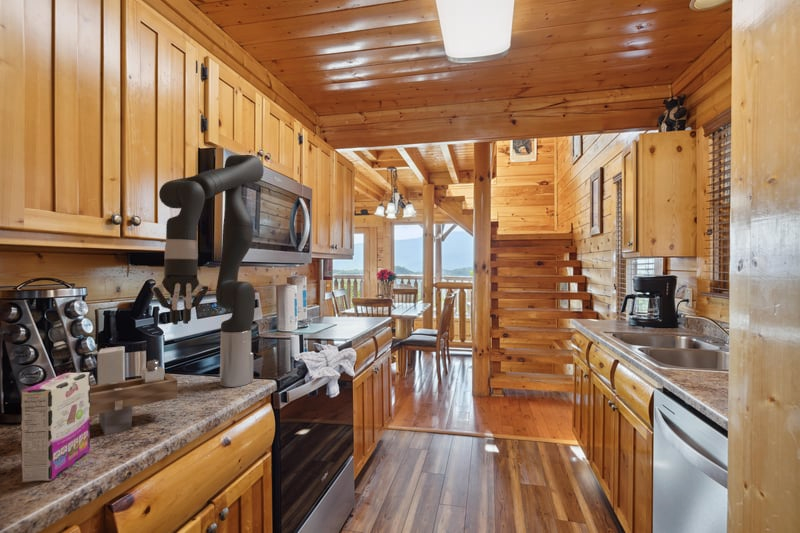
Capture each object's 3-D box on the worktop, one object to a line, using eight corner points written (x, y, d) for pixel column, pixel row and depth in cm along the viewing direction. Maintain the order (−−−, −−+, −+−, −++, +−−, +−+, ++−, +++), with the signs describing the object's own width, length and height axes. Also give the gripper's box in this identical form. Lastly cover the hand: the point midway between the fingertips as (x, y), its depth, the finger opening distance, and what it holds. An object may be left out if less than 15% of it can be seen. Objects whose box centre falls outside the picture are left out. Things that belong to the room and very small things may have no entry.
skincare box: (124, 404, 105) (125, 350, 105) (95, 409, 101) (96, 352, 101) (125, 396, 112) (126, 344, 112) (99, 399, 108) (100, 347, 108)
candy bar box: (62, 453, 78) (64, 372, 78) (90, 451, 78) (92, 371, 79) (17, 484, 67) (19, 389, 67) (50, 482, 67) (52, 388, 67)
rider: (159, 385, 99) (160, 358, 99) (163, 389, 96) (164, 361, 96) (141, 389, 96) (141, 361, 96) (144, 393, 93) (145, 364, 93)
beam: (167, 408, 103) (168, 372, 103) (177, 418, 96) (177, 380, 96) (45, 434, 86) (46, 392, 86) (47, 448, 79) (48, 402, 79)
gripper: (204, 258, 108) (203, 320, 108) (147, 256, 98) (146, 324, 98) (214, 258, 103) (213, 323, 103) (154, 256, 93) (153, 328, 93)
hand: (180, 323), depth 101 cm, fingers closed
